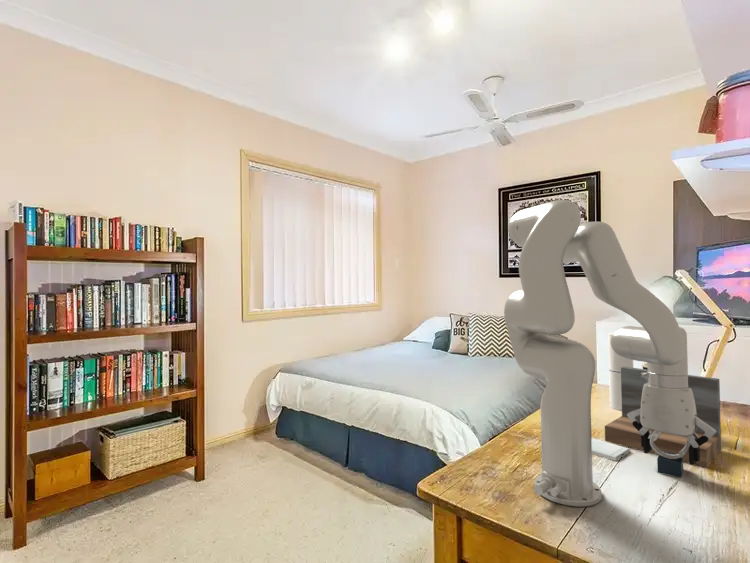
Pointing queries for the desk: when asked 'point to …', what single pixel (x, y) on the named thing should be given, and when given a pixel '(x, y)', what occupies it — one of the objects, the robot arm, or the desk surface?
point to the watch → (668, 457)
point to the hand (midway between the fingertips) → (669, 456)
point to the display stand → (629, 436)
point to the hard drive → (608, 450)
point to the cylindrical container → (616, 375)
